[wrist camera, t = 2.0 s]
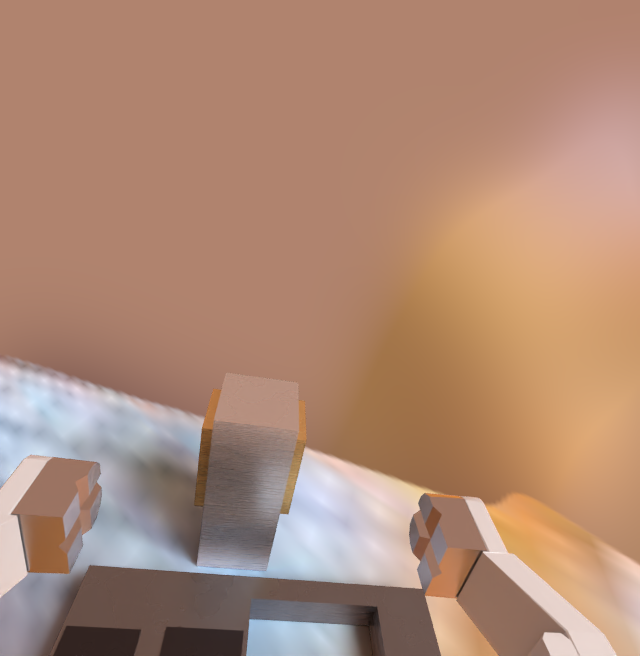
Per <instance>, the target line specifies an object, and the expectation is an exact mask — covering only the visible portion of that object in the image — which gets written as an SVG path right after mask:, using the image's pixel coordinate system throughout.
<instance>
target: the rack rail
mask: <svg viewBox="0 0 640 656" xmlns="http://www.w3.org/2000/svg"><path fill="white" fill-rule="evenodd" d="M249 619H262V620H280V621H297V622H315V623H332V624H350V625H367V626H369V631H370V638H371V644H372V651H373V656H441V654H440V650H439V647H438V643H437V639H436V635H435V632H434V628H433V624H432V621H431V617H430V613H429V610H428V606H427V602H426V598H425V595H424V592H423V589H415V588H401V587H386V586H372V585H358V584H344V583H330V582H316V581H302V580H288V579H274V578H260V577H246V576H232V575H218V574H204V573H190V572H176V571H162V570H148V569H133V568H119V567H105V566H91V565H90V566H89V568H88V570H87V572H86V575H85V577H84V579H83V581H82V584H81V586H80V588H79V590H78V593H77V595H76V597H75V599H74V601H73V604H72V606H71V608H70V610H69V613H68V615H67V617H66V619H65V622H64V624H63V626H62V628H61V630H60V633H59V635H58V637H57V639H56V642H55V644H54V646H53V648H52V651H51V653H50V655H49V656H246V651H247V640H248V628H249Z"/></svg>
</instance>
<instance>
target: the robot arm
mask: <svg viewBox="0 0 640 656" xmlns="http://www.w3.org/2000/svg"><path fill="white" fill-rule="evenodd" d="M100 474H101V472H100V464H99V463H97V462H90V461H82V460H74V459H65V458H57V457H46V456H37V455H30V456H28V457H27V458H25V459H24V460H23V461H22V462H21V463H20V465H19V466H18V467H17V468H16V470H15V471H14V472H13V474H12V475H11V476H10V477H9V479H8V480H7V481H6V482H5V484H4V485H3V486H2V488H1V489H0V598H1V597H2V596H3V595H4V594H5V593H6V592H8V591H9V590H10V589H11V588H12V587H14V586H15V585H16V584H17V583H18V582H20V581H21V580H22V579H23V578H24V577H26V576H27V572H34V573H64V574H69V573H70V571H71V569H72V567H73V565H74V563H75V561H76V559H77V557H78V555H79V553H80V551H81V549H82V547H83V541H82V535H83V534H85V533H86V532H87V531H89V530H90V529H91V528H92V526H93V524H94V522H95V520H96V518H97V514H98V511H99V508H100V504H101V496H102V490H101V486H100V485H99V484H98V483H97V480H98V478H99V476H100ZM418 504H419V507H420V511H418V512H417V513H415V514H414V515H413V517H412V520H411V523H410V532H409V537H410V544H411V548H412V552H413V554H414V555H415V556H416V557H417V558H418V559H419V560H420V561H421V562H420V564H419V566H418V569H417V571H418V574H419V578H420V582H421V585H422V589H423V592H424V595H425V596H436V597H446V598H457V600H456V601H457V602H458V603H459V604H460V606H461V607H462V608H463V610H464V611H465V612H466V614H467V615H468V616H469V617H470V619H471V620H472V621H473V623H474V624H475V625H476V626H477V628H478V629H479V630H480V632H481V633H482V634H483V635H484V637H485V638H486V639H487V641H488V642H489V643H490V645H491V646H492V647H493V648H494V650H495V651H496V652H497V654H498V655H499V656H617V655H616V653H615V652H614V650H613V648H612V647H611V645H610V643H609V642H608V640H607V638H606V637H605V635H604V634H603V633H602V632H601V631H600V630H599V629H598V628H597V627H596V626H594V625H593V624H592V623H591V622H590V621H589V620H588V619H587V618H585V617H584V616H583V615H582V614H581V613H580V612H579V611H577V610H576V609H575V608H574V607H573V606H572V605H571V604H570V603H568V602H567V601H566V600H565V599H564V598H563V597H562V596H561V595H559V594H558V593H557V592H556V591H555V590H554V589H553V588H552V587H550V586H549V585H548V584H547V583H546V582H545V581H544V580H543V579H541V578H540V577H539V576H538V575H537V574H536V573H535V572H534V571H532V570H531V569H530V568H529V567H528V566H527V565H526V564H525V563H523V562H522V561H521V560H520V559H519V558H518V557H517V556H516V555H514V554H510V553H508V552H507V550H506V548H505V546H504V544H503V542H502V540H501V538H500V536H499V534H498V532H497V529H496V527H495V525H494V523H493V521H492V519H491V517H490V515H489V513H488V511H487V509H486V507H485V505H484V503H483V501H482V500H481V499H479V498H475V497H464V496H460V497H459V496H453V495H441V494H429V493H424V494H423V495H422V496H421V498H420V500H419V503H418Z"/></svg>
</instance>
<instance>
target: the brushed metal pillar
mask: <svg viewBox="0 0 640 656" xmlns="http://www.w3.org/2000/svg"><path fill="white" fill-rule="evenodd" d="M298 399H299V397H298V383H297V382H290V381H283V380H276V379H268V378H261V377H253V376H247V375H239V374H231V373H226V375H225V378H224V382H223V386H222V390H218V389H213V392H212V396H211V399H210V402H209V406H208V409H207V413H206V416H205V420H204V423H203V427H202V434H201V444H200V453H199V463H198V473H197V483H196V493H195V503H194V505H195V506H204V508H203V517H202V525H201V534H200V543H199V551H198V560H197V566H204V567H217V568H231V569H244V570H258V571H267V567H268V562H269V558H270V554H271V549H272V545H273V541H274V536H275V532H276V528H277V524H278V519H279V515H280V514H288V513H289V509H290V505H291V501H292V497H293V493H294V489H295V485H296V481H297V477H298V473H299V469H300V464H301V460H302V456H303V452H304V448H305V444H306V418H305V401H301V400H298Z"/></svg>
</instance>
